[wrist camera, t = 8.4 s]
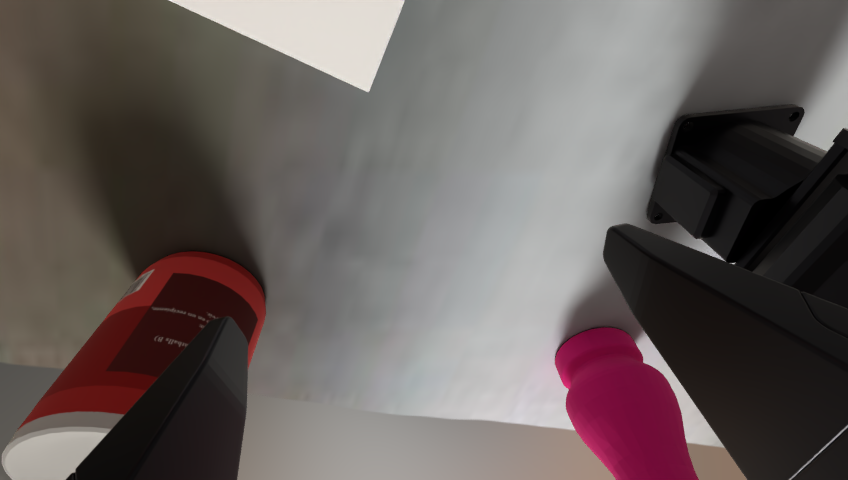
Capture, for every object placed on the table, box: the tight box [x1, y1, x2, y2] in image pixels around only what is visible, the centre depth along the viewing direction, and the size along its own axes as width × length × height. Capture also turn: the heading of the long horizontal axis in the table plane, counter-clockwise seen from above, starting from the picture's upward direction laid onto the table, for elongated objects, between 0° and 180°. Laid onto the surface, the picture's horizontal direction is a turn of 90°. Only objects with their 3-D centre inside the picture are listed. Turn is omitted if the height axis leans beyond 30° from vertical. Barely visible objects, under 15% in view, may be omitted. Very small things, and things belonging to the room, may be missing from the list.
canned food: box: [2, 251, 266, 480], centre depth 21 cm, size 8×8×11 cm
